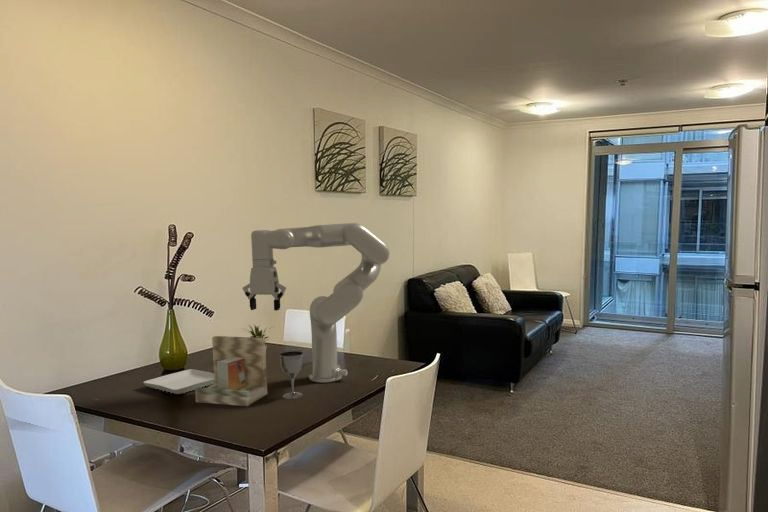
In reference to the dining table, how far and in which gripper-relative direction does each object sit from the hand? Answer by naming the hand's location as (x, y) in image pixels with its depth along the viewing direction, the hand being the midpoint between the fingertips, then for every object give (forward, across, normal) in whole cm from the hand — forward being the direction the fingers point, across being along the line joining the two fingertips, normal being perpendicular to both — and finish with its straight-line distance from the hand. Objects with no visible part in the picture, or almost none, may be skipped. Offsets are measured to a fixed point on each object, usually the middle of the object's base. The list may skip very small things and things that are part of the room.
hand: (265, 309), depth 203 cm
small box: (+25, +5, +16) cm, 31 cm away
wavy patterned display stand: (+28, +5, +17) cm, 33 cm away
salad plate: (+29, +31, +8) cm, 43 cm away
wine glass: (+28, -15, +10) cm, 34 cm away
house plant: (+28, +24, -33) cm, 50 cm away
